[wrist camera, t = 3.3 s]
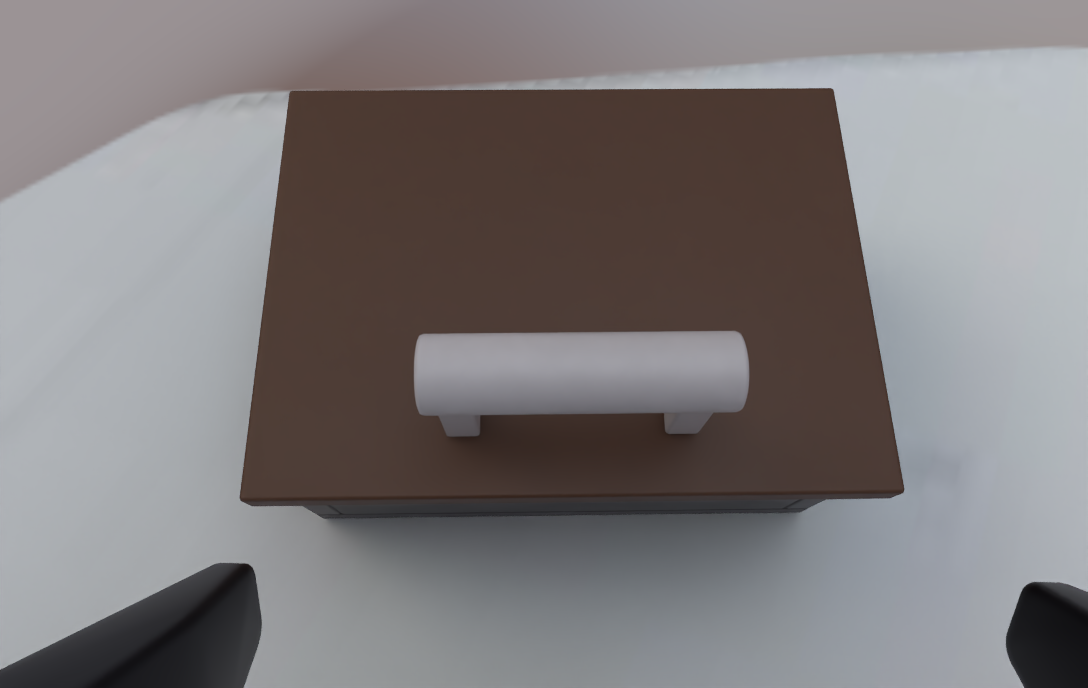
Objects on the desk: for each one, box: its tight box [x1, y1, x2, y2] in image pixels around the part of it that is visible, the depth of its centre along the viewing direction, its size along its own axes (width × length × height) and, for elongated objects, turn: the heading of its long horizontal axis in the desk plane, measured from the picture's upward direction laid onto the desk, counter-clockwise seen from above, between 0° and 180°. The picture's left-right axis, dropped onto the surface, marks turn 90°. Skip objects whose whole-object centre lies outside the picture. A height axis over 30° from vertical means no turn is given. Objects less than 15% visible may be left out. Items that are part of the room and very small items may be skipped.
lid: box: [240, 88, 904, 506], centre depth 16 cm, size 10×13×4 cm
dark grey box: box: [304, 499, 825, 518], centre depth 21 cm, size 9×13×6 cm
